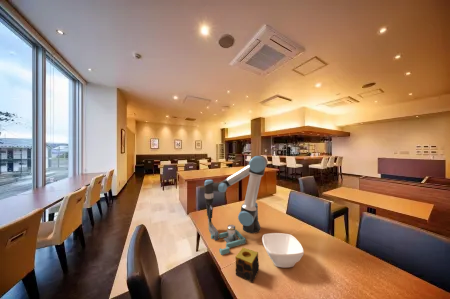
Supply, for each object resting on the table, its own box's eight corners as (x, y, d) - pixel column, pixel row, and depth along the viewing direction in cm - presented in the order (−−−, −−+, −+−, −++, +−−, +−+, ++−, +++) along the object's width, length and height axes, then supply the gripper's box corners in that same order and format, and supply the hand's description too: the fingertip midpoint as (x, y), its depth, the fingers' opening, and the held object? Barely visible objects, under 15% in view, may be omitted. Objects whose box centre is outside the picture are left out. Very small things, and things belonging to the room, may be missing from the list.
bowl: (260, 250, 104) (259, 232, 105) (293, 250, 104) (292, 232, 104) (268, 276, 82) (267, 254, 82) (310, 276, 82) (309, 254, 82)
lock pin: (211, 229, 133) (211, 221, 133) (218, 239, 118) (218, 230, 118) (208, 230, 132) (208, 222, 132) (214, 240, 117) (214, 231, 117)
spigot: (229, 236, 121) (229, 224, 121) (236, 238, 119) (236, 225, 119) (226, 241, 116) (226, 227, 116) (234, 242, 113) (233, 229, 113)
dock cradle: (235, 231, 129) (234, 228, 129) (249, 246, 109) (249, 242, 109) (210, 237, 121) (210, 233, 121) (221, 255, 100) (221, 250, 100)
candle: (252, 283, 78) (252, 263, 78) (235, 275, 84) (234, 256, 84) (259, 270, 87) (258, 252, 87) (243, 263, 92) (242, 246, 93)
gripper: (203, 196, 139) (203, 222, 138) (207, 200, 127) (207, 229, 126) (211, 195, 141) (211, 221, 141) (215, 199, 129) (216, 227, 129)
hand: (209, 225), depth 134 cm, fingers closed
